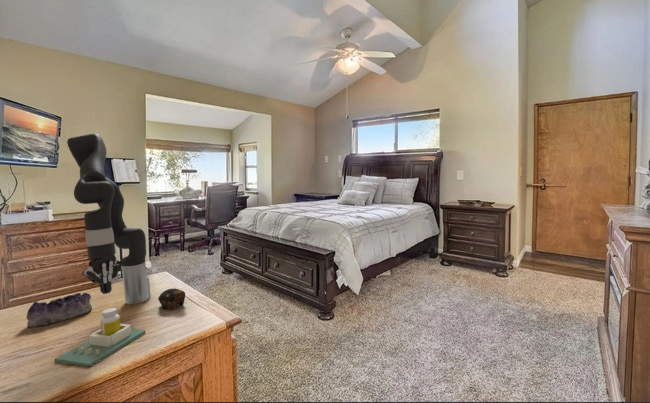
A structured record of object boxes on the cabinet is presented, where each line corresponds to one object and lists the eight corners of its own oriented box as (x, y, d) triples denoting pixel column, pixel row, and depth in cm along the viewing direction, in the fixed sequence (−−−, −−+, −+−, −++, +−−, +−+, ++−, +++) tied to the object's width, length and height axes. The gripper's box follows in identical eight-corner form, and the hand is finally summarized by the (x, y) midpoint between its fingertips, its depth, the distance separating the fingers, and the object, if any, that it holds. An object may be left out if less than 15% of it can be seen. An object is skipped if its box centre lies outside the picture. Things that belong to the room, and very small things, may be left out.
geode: (31, 333, 115) (25, 307, 115) (25, 329, 123) (20, 304, 122) (96, 310, 131) (91, 287, 131) (88, 308, 138) (83, 286, 138)
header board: (114, 329, 115) (113, 319, 114) (145, 332, 111) (144, 322, 110) (55, 361, 95) (53, 349, 95) (89, 367, 92) (88, 354, 91)
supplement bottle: (125, 335, 108) (122, 307, 107) (110, 343, 103) (106, 314, 102) (114, 333, 110) (111, 306, 109) (98, 341, 104) (95, 313, 104)
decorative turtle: (178, 313, 126) (175, 294, 125) (151, 312, 131) (147, 294, 130) (195, 302, 135) (192, 285, 134) (169, 301, 140) (166, 284, 139)
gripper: (110, 237, 110) (115, 285, 112) (71, 246, 98) (77, 300, 99) (127, 238, 108) (132, 286, 110) (89, 247, 96) (95, 301, 97)
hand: (106, 293), depth 104 cm, fingers closed
